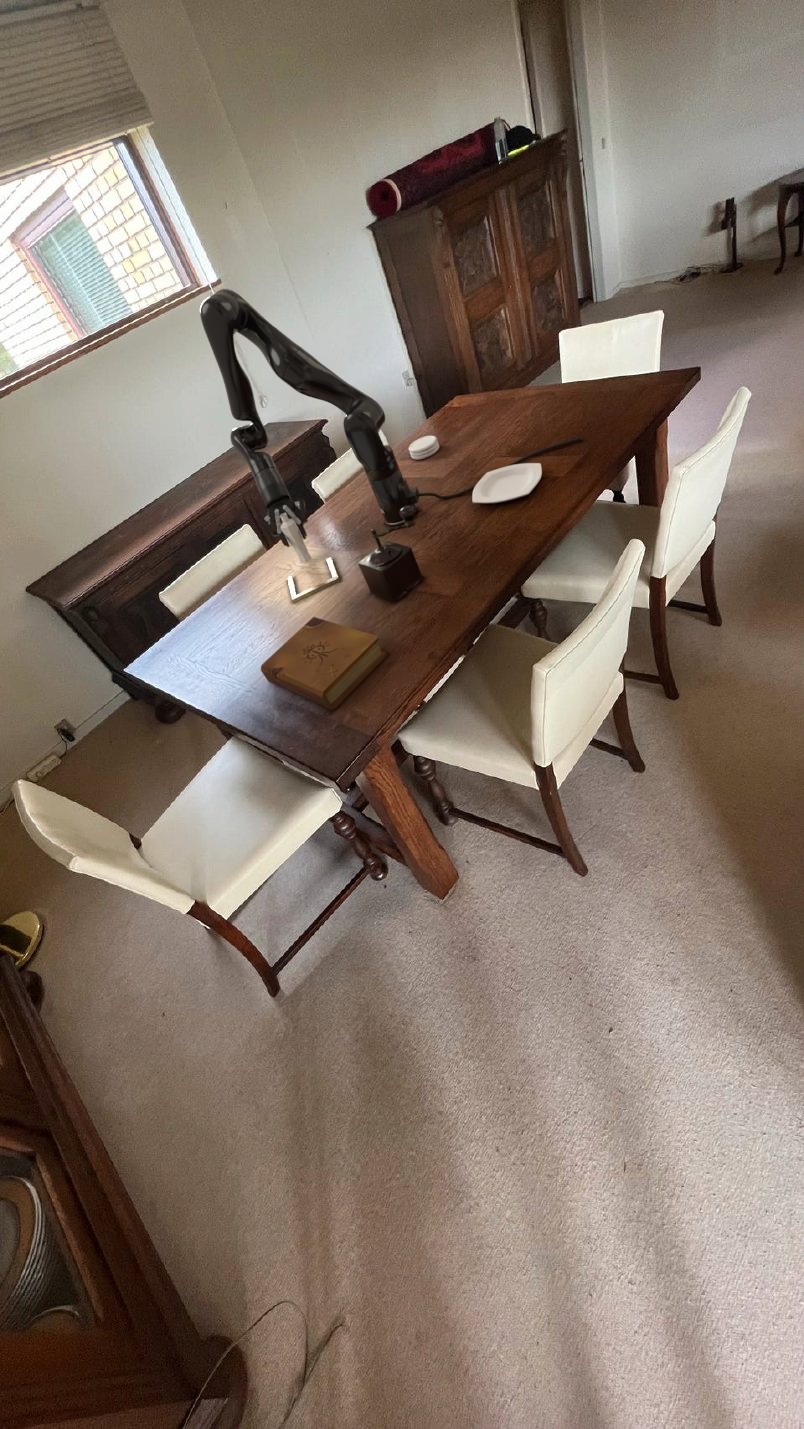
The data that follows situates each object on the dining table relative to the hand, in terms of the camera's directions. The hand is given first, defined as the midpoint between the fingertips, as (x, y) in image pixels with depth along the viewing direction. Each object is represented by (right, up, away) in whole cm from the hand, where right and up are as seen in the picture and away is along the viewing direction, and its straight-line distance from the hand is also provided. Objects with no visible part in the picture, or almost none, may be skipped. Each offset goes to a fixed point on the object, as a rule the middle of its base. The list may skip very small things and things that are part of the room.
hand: (296, 541), depth 177 cm
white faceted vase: (+2, -4, +6) cm, 8 cm away
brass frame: (+5, -11, -1) cm, 12 cm away
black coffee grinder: (+31, -15, -18) cm, 39 cm away
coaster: (+38, +39, +33) cm, 64 cm away
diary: (+13, -39, -33) cm, 53 cm away
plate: (+60, +13, -4) cm, 61 cm away
